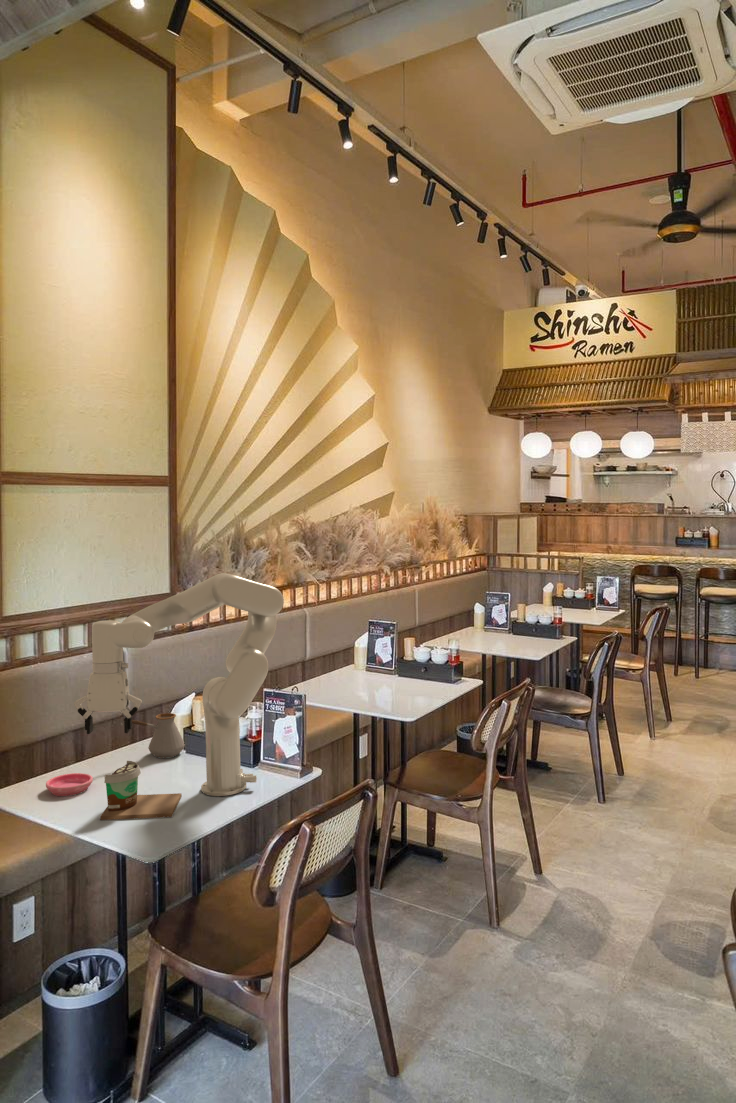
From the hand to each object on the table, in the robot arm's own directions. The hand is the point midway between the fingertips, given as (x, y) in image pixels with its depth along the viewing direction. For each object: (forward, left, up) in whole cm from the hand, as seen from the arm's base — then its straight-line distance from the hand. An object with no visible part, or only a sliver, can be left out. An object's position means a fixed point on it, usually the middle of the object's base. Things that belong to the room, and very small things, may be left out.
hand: (108, 732), depth 199 cm
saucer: (+16, -16, -21) cm, 31 cm away
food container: (-4, 0, -20) cm, 20 cm away
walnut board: (-8, 0, -21) cm, 22 cm away
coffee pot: (-2, -42, -21) cm, 47 cm away
